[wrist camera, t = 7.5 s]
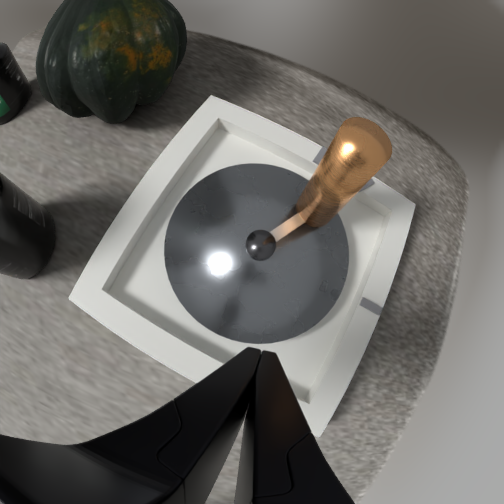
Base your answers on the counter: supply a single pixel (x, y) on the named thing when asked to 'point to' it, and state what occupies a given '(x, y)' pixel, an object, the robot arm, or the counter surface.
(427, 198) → the counter surface
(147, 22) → the squash
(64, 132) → the counter surface
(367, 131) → the dial
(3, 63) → the supplement bottle
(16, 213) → the supplement bottle
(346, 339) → the dial housing
